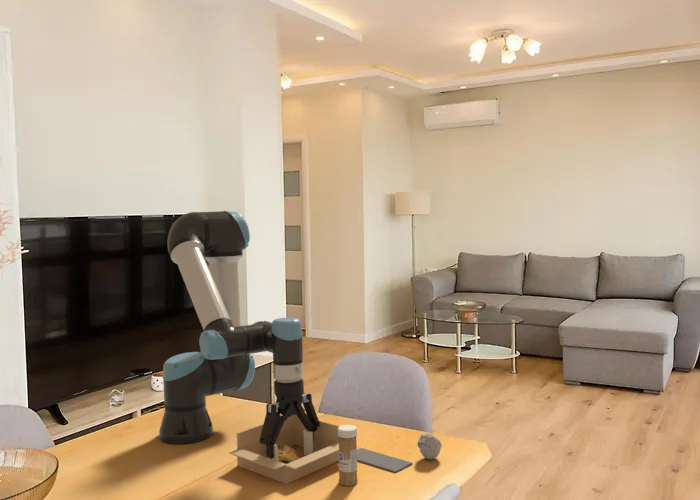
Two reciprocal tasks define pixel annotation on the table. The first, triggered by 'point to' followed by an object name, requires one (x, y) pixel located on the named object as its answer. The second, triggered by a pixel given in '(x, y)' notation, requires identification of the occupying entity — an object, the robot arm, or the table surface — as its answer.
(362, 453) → the mat
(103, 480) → the table surface
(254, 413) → the table surface
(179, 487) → the table surface
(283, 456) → the shoe last
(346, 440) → the sprinkles bottle
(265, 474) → the carton
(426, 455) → the grey rough lump
